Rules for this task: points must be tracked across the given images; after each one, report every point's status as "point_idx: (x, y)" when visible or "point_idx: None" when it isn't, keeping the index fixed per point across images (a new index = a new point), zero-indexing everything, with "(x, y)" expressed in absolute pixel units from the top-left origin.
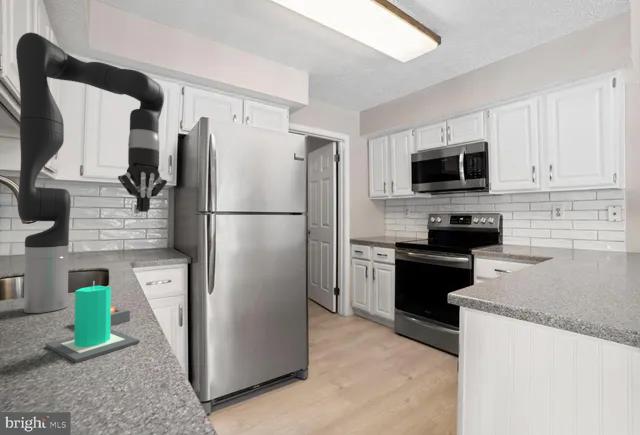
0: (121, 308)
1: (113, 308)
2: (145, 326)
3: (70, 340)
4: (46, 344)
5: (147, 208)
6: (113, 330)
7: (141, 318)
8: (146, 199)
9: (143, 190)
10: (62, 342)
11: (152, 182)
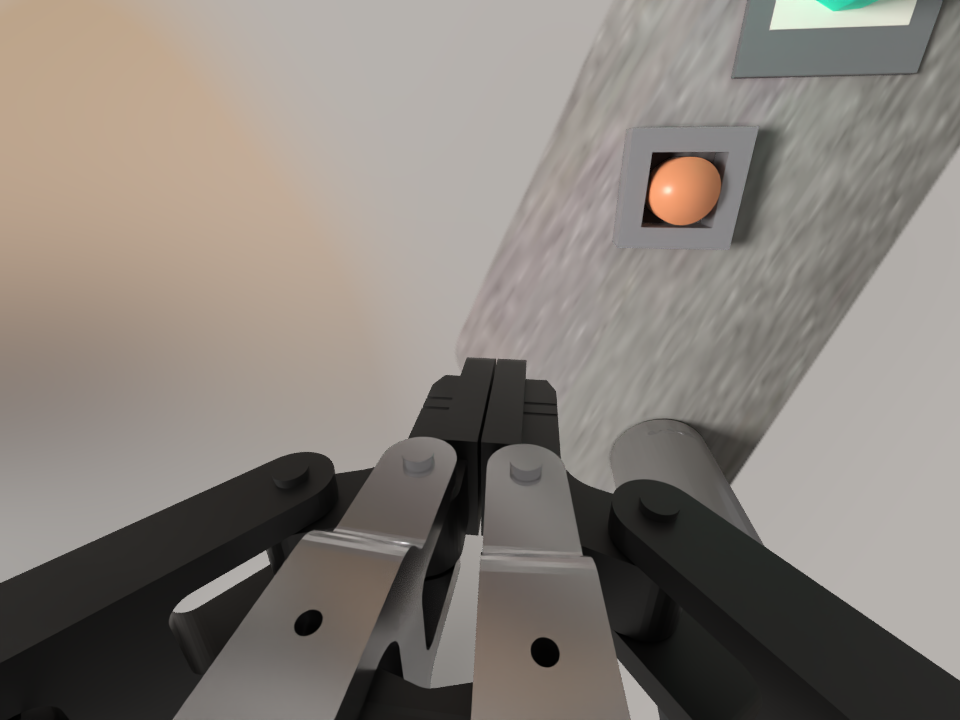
0: (628, 183)
1: (671, 164)
2: (644, 6)
3: (872, 36)
4: (917, 68)
5: (470, 367)
6: (747, 23)
7: (589, 123)
8: (466, 432)
9: (514, 537)
10: (893, 39)
11: (205, 717)
